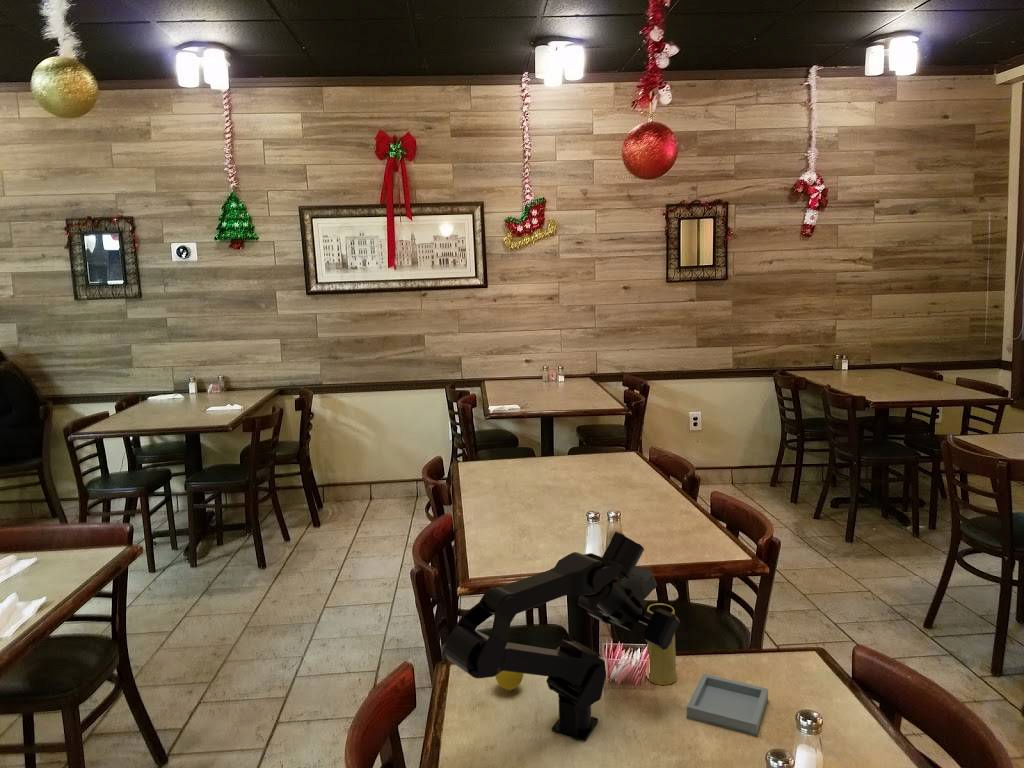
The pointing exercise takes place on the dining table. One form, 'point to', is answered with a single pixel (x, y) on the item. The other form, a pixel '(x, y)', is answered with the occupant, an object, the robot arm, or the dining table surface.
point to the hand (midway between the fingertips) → (651, 634)
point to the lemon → (509, 679)
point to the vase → (662, 655)
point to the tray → (728, 704)
